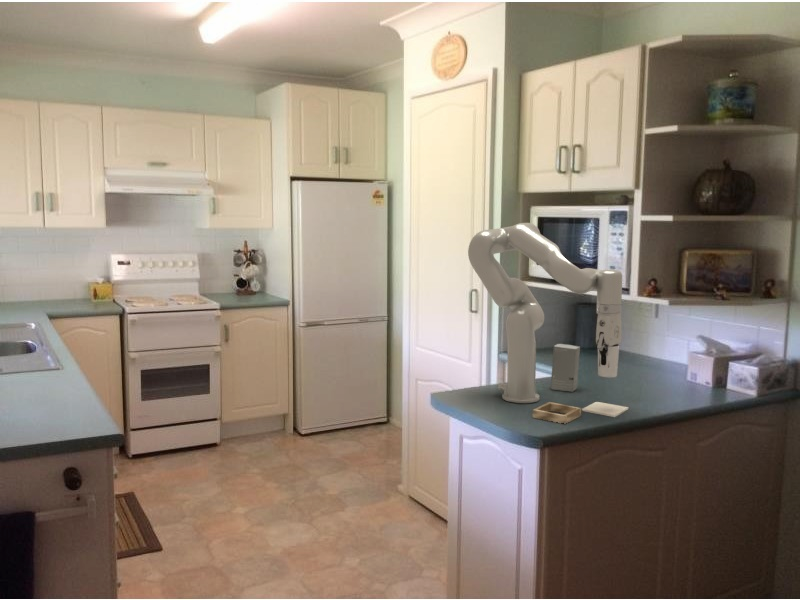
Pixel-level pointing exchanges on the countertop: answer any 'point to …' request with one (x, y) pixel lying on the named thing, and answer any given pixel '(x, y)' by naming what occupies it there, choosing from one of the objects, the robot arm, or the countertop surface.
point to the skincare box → (565, 367)
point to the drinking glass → (609, 362)
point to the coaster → (605, 409)
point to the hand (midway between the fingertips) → (607, 365)
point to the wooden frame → (569, 411)
